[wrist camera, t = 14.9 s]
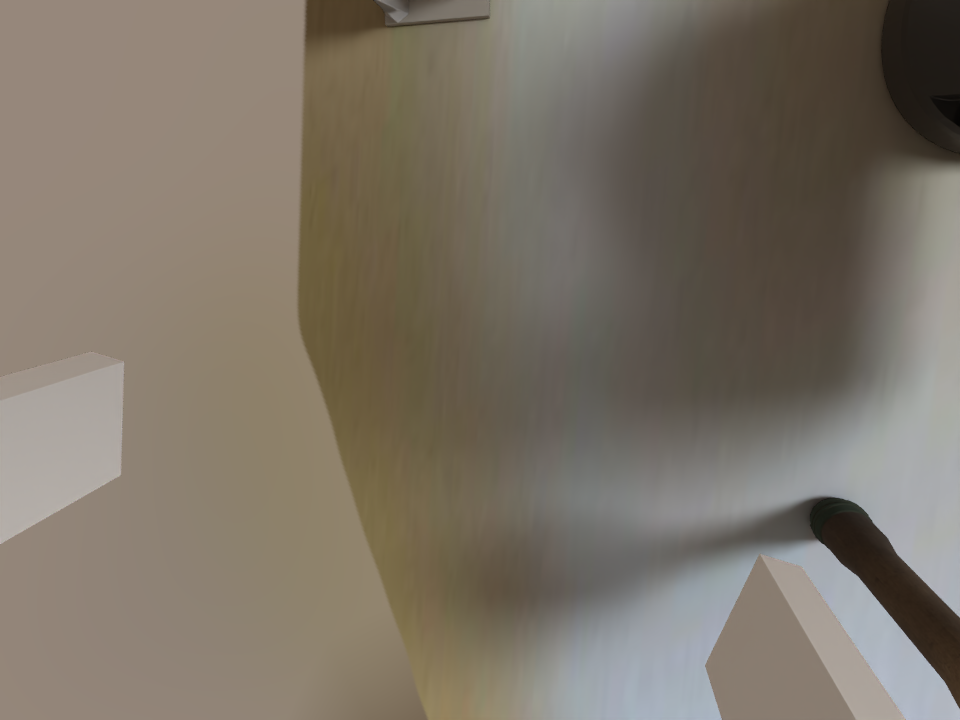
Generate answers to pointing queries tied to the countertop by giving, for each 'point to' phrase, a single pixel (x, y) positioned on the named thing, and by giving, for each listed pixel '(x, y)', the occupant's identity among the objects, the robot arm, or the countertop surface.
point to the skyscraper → (432, 11)
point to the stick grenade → (892, 584)
